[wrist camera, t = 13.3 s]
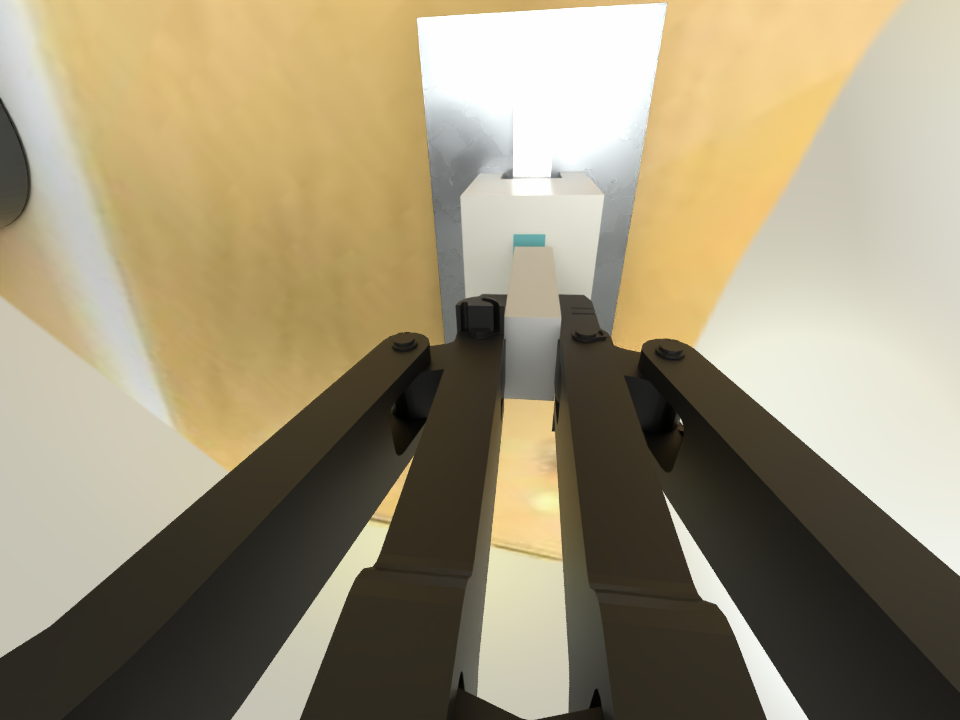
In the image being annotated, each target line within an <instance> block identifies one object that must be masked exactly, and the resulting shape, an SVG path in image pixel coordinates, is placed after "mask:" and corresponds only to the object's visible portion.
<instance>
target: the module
mask: <svg viewBox="0 0 960 720" xmlns="http://www.w3.org/2000/svg"><path fill="white" fill-rule="evenodd" d="M460 200H461V220H462V239H463V259H464V278H465V298H470V297H477V296H480V295H482V294H508V289H509V282H510V275H511V269H512V262H513V255H514V249H515V247H552V249H553V257H554V265H555V272H556V280H557V288H558V294H568V295H585V296H586V297H587V298H589V299H590V300H591V294H592V286H593V279H594V271H595V263H596V256H597V248H598V240H599V233H600V225H601V217H602V210H603V202H604V194H603V192H602V191H601V190H600V189H599V188H598V187H597V186H596V184H595V183H594V182H593V181H592V180H591V179H590V178H589V176H588V175H587V174H586V173H585V172H584V171H583V172H559V178H532V179H504V173H480V174H479V175H478V176H477V177H476V178H475V180H474V181H473V182H472V183H471V184H470V185H469V187H468V188H467V189H466V190H465V191H464V192H463V194H462V195H461V196H460Z"/></svg>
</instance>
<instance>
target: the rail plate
mask: <svg viewBox="0 0 960 720" xmlns="http://www.w3.org/2000/svg"><path fill="white" fill-rule="evenodd" d="M667 3H668V2H667ZM667 3H651V4H635V5H619V6H602V7H586V8H570V9H553V10H537V11H521V12H505V13H488V14H472V15H456V16H439V17H423V18H417V26H418V37H419V49H420V60H421V72H422V83H423V95H424V106H425V118H426V129H427V141H428V152H429V164H430V176H431V187H432V199H433V210H434V222H435V233H436V245H437V256H438V268H439V279H440V291H441V302H442V314H443V325H444V337H445V344H447V343H450V342H453V341H454V340H455V337H456V334H457V323H456V308H455V305H456V304H457V303H458V302H459V301H461V300H463V299H465V278H464V259H463V239H462V220H461V200H460V196H461V195H462V194H463V192H464V191H465V190H466V189H467V188H468V187H469V185H470V184H471V183H472V182H473V181H474V180H475V178H476V177H477V176H478V175H479V174H480V173H504V179H532V178H559V172H583V171H584V172H585V173H586V174H587V175H588V176H589V178H590V179H591V180H592V181H593V182H594V183H595V184H596V186H597V187H598V188H599V189H600V190H601V191H602V192H603V194H604V202H603V210H602V217H601V225H600V233H599V240H598V248H597V256H596V263H595V271H594V279H593V286H592V294H591V301H592V303H593V306H594V310H595V313H596V316H597V319H598V323H599V326H600V328H601V329H603V330H604V331H606V332H608V334H609V335H610V336H611V334H612V328H613V322H614V316H615V310H616V305H617V299H618V293H619V287H620V281H621V275H622V269H623V263H624V257H625V251H626V245H627V239H628V234H629V228H630V222H631V216H632V210H633V204H634V198H635V192H636V186H637V180H638V174H639V168H640V162H641V157H642V151H643V145H644V139H645V133H646V127H647V121H648V115H649V109H650V103H651V97H652V91H653V86H654V80H655V74H656V68H657V62H658V56H659V50H660V44H661V38H662V32H663V26H664V20H665V14H666V9H667Z"/></svg>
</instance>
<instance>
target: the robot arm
mask: <svg viewBox="0 0 960 720" xmlns="http://www.w3.org/2000/svg"><path fill="white" fill-rule="evenodd" d="M27 192H28V178H27V170H26V164H25V160H24V156H23V153H22V149H21V146H20V144H19V141H18V138H17V136H16V134H15V131H14V129H13V127H12V125H11V123H10V121H9V118H8V117H7V115H6V113H5V111H4V109H3V107H2V106H1V104H0V228H1V227H4V226H6V225H8V224H10V223H11V222H13V221H14V220H15V219H16V218H17V217H18V216H19V215H20V213H21V212H22V210H23V208H24V205H25V202H26V198H27ZM455 308H456V323H457V334H456V337H455V340H454V341H453V342H450V343H447V344H442V345H436V346H430V344H429V340H428V338H427V337H425V336H424V335H422V334H418V333H410V332H404V333H398V334H396V335H393V336H390V337H388V338H387V339H385V340H384V341H382V342H381V343H380V344H379V345H378V346H377V347H375V348H374V349H373V350H372V351H371V352H370V353H368V354H367V355H366V356H365V357H364V358H363V359H361V360H360V361H359V362H358V363H357V364H356V365H354V366H353V367H352V368H351V369H350V370H349V371H347V372H346V373H345V374H344V375H343V376H342V377H340V378H339V379H338V380H337V381H336V382H335V383H333V384H332V385H331V386H330V387H329V388H328V389H326V390H325V391H324V392H323V393H322V394H321V395H319V396H318V397H317V398H316V399H315V400H314V401H312V402H311V403H310V404H309V405H308V406H307V407H305V408H304V409H303V410H302V411H301V412H300V413H298V414H297V415H296V416H295V417H294V418H293V419H291V420H290V421H289V422H288V423H287V424H286V425H284V426H283V427H282V428H281V429H280V430H279V431H277V432H276V433H275V434H274V435H273V436H272V437H270V438H269V439H268V440H267V441H266V442H265V443H263V444H262V445H261V446H260V447H259V448H258V449H256V450H255V451H254V452H253V453H252V454H251V455H249V456H248V457H247V458H246V459H245V460H244V461H242V462H241V463H240V464H239V465H238V466H237V467H235V468H234V469H233V470H232V471H231V472H230V473H228V474H227V475H226V476H225V477H224V478H223V479H221V480H220V481H219V482H218V483H217V484H216V485H214V486H213V487H212V488H211V489H210V490H209V491H207V492H206V493H205V494H204V495H203V496H202V497H200V498H199V499H198V500H197V501H196V502H195V503H193V504H192V505H191V506H190V507H189V508H188V509H186V510H185V511H184V512H183V513H182V514H181V515H179V516H178V517H177V518H176V519H175V520H174V521H172V522H171V523H170V524H169V525H168V526H167V527H166V528H165V529H163V530H162V531H161V532H160V533H159V534H157V535H156V536H155V537H154V538H153V539H152V540H150V541H149V542H148V543H147V544H146V545H145V546H143V547H142V548H141V549H140V550H139V551H138V552H136V553H135V554H134V555H133V556H132V557H131V558H130V559H128V560H127V561H126V562H125V563H124V564H122V565H121V566H120V567H119V568H118V569H117V570H115V571H114V572H113V573H112V574H111V575H110V576H108V577H107V578H106V579H105V580H104V581H103V582H101V583H100V584H99V585H98V586H97V587H96V588H94V589H93V590H92V591H91V592H90V593H89V594H87V595H86V596H85V597H84V598H83V599H82V600H80V601H79V602H78V603H77V604H76V605H75V606H74V607H72V608H71V609H70V610H69V611H68V612H66V613H65V614H64V615H63V616H62V617H61V618H60V619H58V620H57V621H56V622H55V623H54V624H52V625H51V626H50V627H48V628H47V629H45V630H44V631H42V632H41V633H39V634H37V635H36V636H34V637H33V638H31V639H30V640H28V641H26V642H25V643H23V644H22V645H20V646H18V647H17V648H15V649H14V650H12V651H11V652H9V653H7V654H6V655H4V656H3V657H1V658H0V720H231V719H232V717H233V716H234V714H235V713H236V712H237V710H238V709H239V708H240V706H241V705H242V704H243V702H244V701H245V699H246V698H247V696H248V695H249V693H250V692H251V691H252V689H253V688H254V686H255V685H256V683H257V682H258V681H259V679H260V678H261V676H262V675H263V673H264V672H265V670H266V669H267V668H268V666H269V665H270V663H271V662H272V660H273V659H274V657H275V656H276V654H277V653H278V651H279V650H280V649H281V647H282V646H283V644H284V643H285V641H286V640H287V638H288V637H289V635H290V634H291V633H292V631H293V630H294V628H295V627H296V625H297V624H298V623H299V621H300V620H301V618H302V617H303V615H304V614H305V612H306V611H307V610H308V608H309V607H310V605H311V604H312V602H313V601H314V599H315V598H316V597H317V595H318V594H319V592H320V591H321V589H322V588H323V586H324V585H325V583H326V582H327V581H328V579H329V578H330V576H331V575H332V573H333V572H334V570H335V569H336V568H337V566H338V565H339V563H340V562H341V560H342V559H343V557H344V556H345V555H346V553H347V552H348V550H349V549H350V547H351V546H352V544H353V543H354V541H355V540H356V539H357V537H358V536H359V534H360V532H361V531H362V530H363V528H364V527H365V526H366V524H367V523H368V521H369V520H370V518H371V517H372V515H373V514H374V513H375V511H376V510H377V508H378V507H379V505H380V504H381V502H382V501H383V499H384V498H385V497H386V495H387V494H388V492H389V491H390V489H391V488H392V486H393V485H394V484H395V482H396V481H397V479H398V478H399V476H400V475H401V473H402V472H403V470H404V469H405V468H406V466H407V465H408V463H409V462H410V460H411V459H412V457H413V456H414V458H413V461H412V463H411V466H410V469H409V472H408V475H407V478H406V481H405V484H404V486H403V489H402V492H401V495H400V498H399V501H398V504H397V506H396V509H395V512H394V515H393V518H392V521H391V524H390V527H389V529H388V532H387V535H386V538H385V541H384V544H383V547H382V550H381V552H380V555H379V557H378V560H377V562H376V563H375V564H374V566H373V567H369V568H364V569H363V570H362V571H361V572H360V574H359V575H358V576H357V577H356V579H355V581H354V583H353V585H352V587H351V589H350V591H349V594H348V596H347V599H346V601H345V604H344V606H343V609H342V612H341V614H340V617H339V619H338V622H337V625H336V627H335V630H334V632H333V635H332V638H331V640H330V643H329V645H328V648H327V651H326V653H325V656H324V659H323V661H322V664H321V666H320V669H319V671H318V674H317V676H316V679H315V682H314V684H313V687H312V689H311V692H310V695H309V697H308V700H307V702H306V705H305V708H304V710H303V713H302V715H301V718H300V720H526V719H521V718H519V717H517V716H515V715H513V714H511V713H509V712H507V711H505V710H503V709H501V708H499V707H497V706H495V705H493V704H491V703H489V702H487V701H485V700H483V699H480V698H479V697H477V685H478V665H479V652H480V642H481V632H482V621H483V612H484V602H485V592H486V582H487V572H488V562H489V551H490V542H491V532H492V522H493V512H494V502H495V493H496V483H497V473H498V463H499V453H500V443H501V433H502V423H503V413H504V398H509V399H529V400H549V401H554V396H555V404H554V415H553V426H552V431H555V438H556V455H557V472H558V488H559V505H560V522H561V538H562V555H563V572H564V586H565V587H564V588H565V605H566V621H567V639H568V655H569V681H570V682H569V713H566V714H562V715H557V716H552V717H547V718H542V719H537V720H767V719H766V716H765V714H764V711H763V708H762V706H761V703H760V701H759V698H758V695H757V693H756V690H755V687H754V685H753V682H752V680H751V677H750V674H749V672H748V669H747V667H746V664H745V661H744V658H743V656H742V653H741V651H740V648H739V645H738V643H737V640H736V637H735V635H734V633H733V631H732V629H731V627H730V625H729V622H728V620H727V618H726V616H725V615H724V614H723V613H722V611H721V610H720V609H719V608H718V606H717V605H716V604H713V603H710V602H707V601H704V600H702V598H701V597H700V596H699V595H698V593H697V590H696V588H695V586H694V583H693V580H692V578H691V574H690V571H689V568H688V566H687V563H686V560H685V557H684V554H683V551H682V548H681V545H680V542H679V539H678V536H677V533H676V530H675V527H674V524H673V521H672V518H671V515H670V512H669V509H668V506H667V503H666V500H665V497H664V494H663V492H664V493H665V495H666V497H667V498H668V500H669V501H670V503H671V504H672V506H673V508H674V509H675V511H676V512H677V514H678V515H679V517H680V519H681V520H682V522H683V523H684V525H685V526H686V528H687V530H688V531H689V533H690V534H691V536H692V537H693V539H694V541H695V542H696V544H697V545H698V547H699V548H700V550H701V551H702V553H703V555H704V556H705V558H706V559H707V561H708V562H709V564H710V566H711V567H712V569H713V570H714V572H715V573H716V575H717V577H718V578H719V580H720V581H721V583H722V584H723V586H724V587H725V589H726V590H727V592H728V594H729V595H730V597H731V599H732V600H733V602H734V603H735V605H736V606H737V608H738V609H739V611H740V613H741V614H742V616H743V617H744V619H745V620H746V622H747V623H748V625H749V627H750V628H751V630H752V631H753V633H754V635H755V636H756V638H757V639H758V641H759V642H760V644H761V646H762V647H763V649H764V650H765V652H766V653H767V655H768V656H769V658H770V660H771V661H772V663H773V664H774V666H775V667H776V669H777V670H778V672H779V674H780V675H781V677H782V678H783V680H784V682H785V683H786V685H787V686H788V688H789V689H790V691H791V693H792V694H793V696H794V697H795V699H796V700H797V702H798V704H799V705H800V707H801V708H802V710H803V711H804V713H805V714H806V716H807V718H808V719H809V720H960V576H959V575H957V574H956V573H955V572H954V571H953V570H952V569H950V568H949V567H948V566H947V565H946V564H945V563H943V562H942V561H941V560H940V559H939V558H937V557H936V556H935V555H934V554H933V553H932V552H931V551H929V550H928V549H927V548H926V547H925V546H924V545H922V544H921V543H920V542H919V541H918V540H917V539H915V538H914V537H913V536H912V535H911V534H910V533H908V532H907V531H906V530H905V529H904V528H903V527H901V526H900V525H899V524H898V523H897V522H896V521H894V520H893V519H892V518H891V517H890V516H889V515H888V514H886V513H885V512H884V511H883V510H882V509H881V508H879V507H878V506H877V505H876V504H875V503H873V502H872V501H871V500H870V499H869V498H868V497H867V496H865V495H864V494H863V493H862V492H861V491H860V490H858V489H857V488H856V487H855V486H854V485H853V484H851V483H850V482H849V481H848V480H847V479H846V478H844V477H843V476H842V475H841V474H840V473H839V472H837V471H836V470H835V469H834V468H833V467H832V466H830V465H829V464H828V463H827V462H826V461H825V460H823V459H822V458H821V457H820V456H819V455H818V454H816V453H815V452H814V451H813V450H812V449H811V448H809V447H808V446H807V445H806V444H805V443H804V442H802V441H801V440H800V439H799V438H798V437H797V436H795V435H794V434H793V433H792V432H791V431H790V430H788V429H787V428H786V427H785V426H784V425H783V424H781V423H780V422H779V421H778V420H777V419H776V418H774V417H773V416H772V415H771V414H770V413H769V412H767V411H766V410H765V409H764V408H763V407H762V406H760V405H759V404H758V403H757V402H756V401H755V400H753V399H752V398H751V397H750V396H749V395H748V394H746V393H745V392H744V391H743V390H742V389H741V388H739V387H738V386H737V385H736V384H735V383H734V382H732V381H731V380H730V379H729V378H728V377H727V376H725V375H724V374H723V373H722V372H721V371H720V370H718V369H717V368H716V367H715V366H714V365H713V364H711V363H710V362H709V361H708V360H707V359H705V358H704V357H703V356H702V355H701V354H700V353H699V352H697V351H696V350H695V349H694V348H692V347H690V346H689V345H687V344H684V343H682V342H679V341H677V340H673V339H672V340H671V339H654V340H649V341H647V342H646V343H644V344H643V346H642V350H641V352H636V351H631V350H626V349H622V348H619V347H616V346H614V345H613V342H612V339H611V336H610V335H609V334H608V332H606V331H604V330H603V329H601V328H600V326H599V323H598V319H597V316H596V313H595V310H594V306H593V303H592V301H591V300H590V299H589V298H587V297H586V296H585V295H568V294H558V288H557V280H556V272H555V265H554V257H553V249H552V247H515V249H514V255H513V262H512V269H511V275H510V282H509V289H508V294H482V295H480V296H477V297H470V298H465V299H463V300H461V301H459V302H458V303H457V304H456V305H455ZM680 419H681V420H682V423H683V425H682V424H681V422H680ZM662 490H663V491H662Z"/></svg>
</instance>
